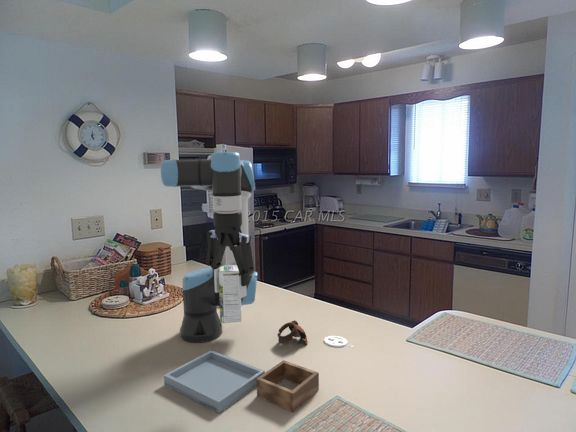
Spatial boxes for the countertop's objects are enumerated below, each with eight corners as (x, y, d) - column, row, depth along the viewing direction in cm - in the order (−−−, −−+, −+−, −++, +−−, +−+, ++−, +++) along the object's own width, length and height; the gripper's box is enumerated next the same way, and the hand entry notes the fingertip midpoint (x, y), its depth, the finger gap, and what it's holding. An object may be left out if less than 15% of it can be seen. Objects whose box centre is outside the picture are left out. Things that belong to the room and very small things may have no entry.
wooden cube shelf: (257, 396, 108) (256, 378, 107) (283, 376, 117) (283, 360, 117) (293, 412, 101) (293, 393, 100) (318, 389, 110) (318, 372, 110)
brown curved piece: (310, 350, 134) (298, 333, 131) (285, 360, 136) (273, 343, 133) (309, 327, 145) (298, 310, 142) (286, 336, 147) (275, 320, 144)
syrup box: (221, 315, 113) (218, 265, 111) (242, 313, 114) (240, 264, 111) (220, 323, 107) (217, 271, 105) (242, 322, 108) (240, 270, 106)
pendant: (329, 336, 144) (329, 334, 144) (358, 343, 138) (358, 341, 138) (320, 343, 138) (320, 341, 138) (349, 352, 132) (349, 349, 132)
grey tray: (164, 385, 114) (163, 375, 113) (211, 359, 128) (211, 350, 127) (219, 413, 101) (218, 402, 100) (264, 380, 115) (264, 371, 115)
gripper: (189, 210, 108) (193, 291, 112) (248, 216, 97) (251, 306, 101) (209, 206, 115) (213, 283, 118) (267, 212, 103) (268, 297, 107)
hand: (230, 293), depth 110 cm, fingers closed on syrup box, 8 cm apart
